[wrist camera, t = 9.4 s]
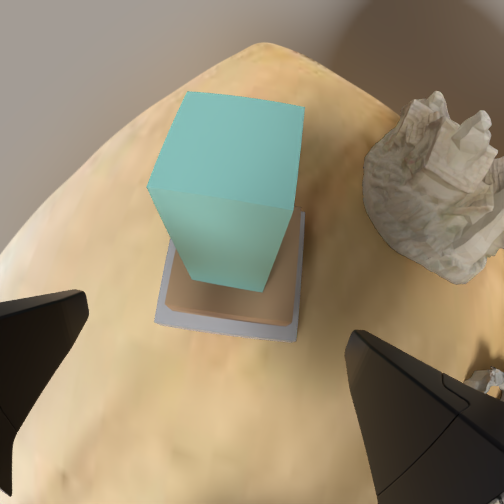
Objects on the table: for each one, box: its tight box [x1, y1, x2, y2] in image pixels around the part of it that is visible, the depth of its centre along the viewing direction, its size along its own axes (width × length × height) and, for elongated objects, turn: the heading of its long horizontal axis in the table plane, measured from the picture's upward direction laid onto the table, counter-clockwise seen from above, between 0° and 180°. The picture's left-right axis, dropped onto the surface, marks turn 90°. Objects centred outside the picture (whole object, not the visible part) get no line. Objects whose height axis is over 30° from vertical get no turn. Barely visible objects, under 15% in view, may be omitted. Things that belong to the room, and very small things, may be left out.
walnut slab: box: [165, 206, 301, 327], centre depth 21 cm, size 8×8×2 cm
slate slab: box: [154, 212, 305, 343], centre depth 24 cm, size 10×10×2 cm
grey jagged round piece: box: [362, 91, 504, 284], centre depth 21 cm, size 16×16×15 cm
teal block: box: [147, 91, 305, 293], centre depth 15 cm, size 4×4×11 cm
